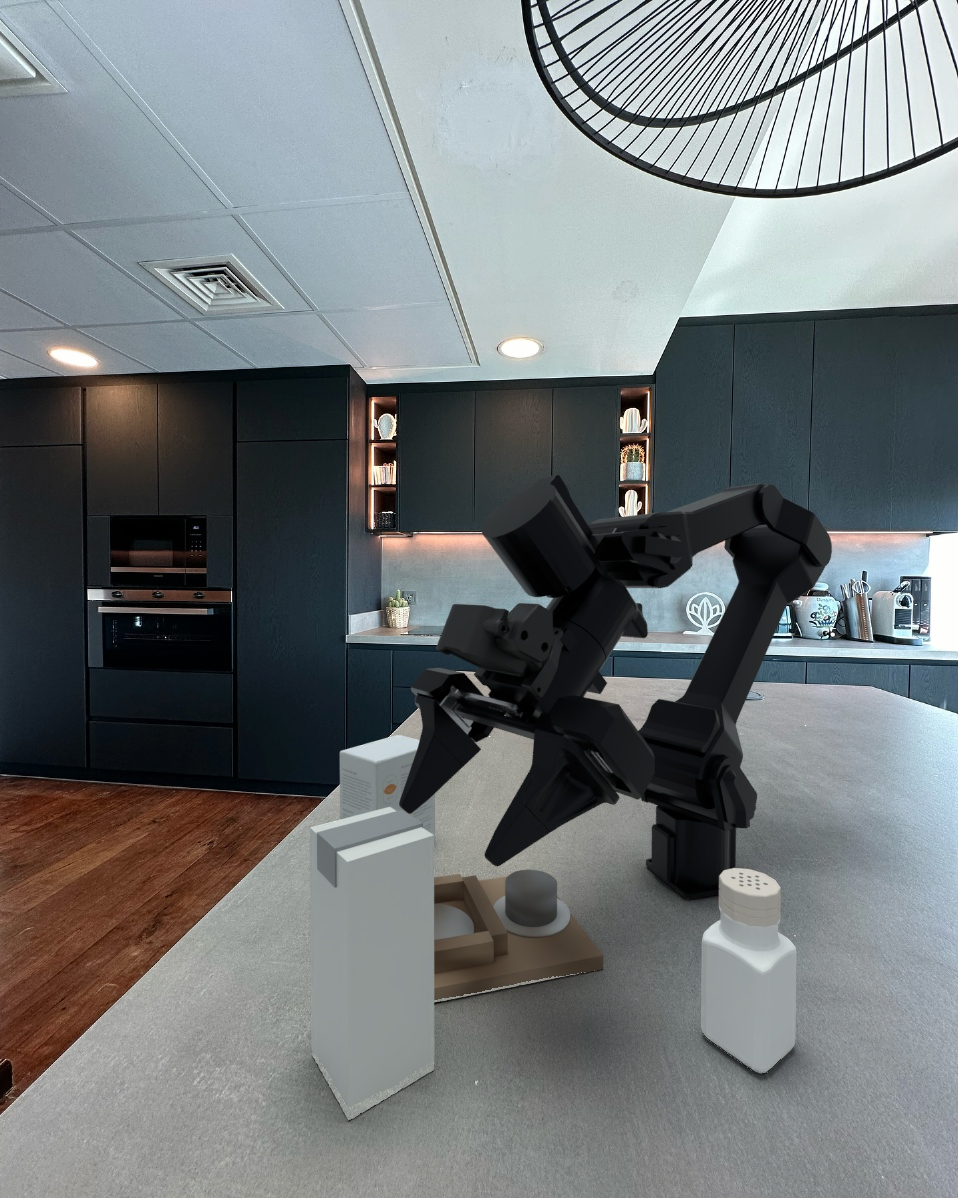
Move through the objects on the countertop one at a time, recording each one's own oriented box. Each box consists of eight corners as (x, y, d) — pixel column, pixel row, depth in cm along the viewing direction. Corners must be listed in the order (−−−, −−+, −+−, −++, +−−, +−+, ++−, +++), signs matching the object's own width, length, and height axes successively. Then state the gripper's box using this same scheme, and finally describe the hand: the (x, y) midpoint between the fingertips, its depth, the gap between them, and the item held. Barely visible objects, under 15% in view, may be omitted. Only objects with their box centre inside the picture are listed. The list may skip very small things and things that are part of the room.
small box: (399, 830, 62) (398, 733, 62) (436, 844, 59) (436, 742, 59) (338, 857, 56) (337, 749, 56) (376, 875, 53) (375, 761, 52)
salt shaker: (763, 1085, 31) (765, 908, 30) (696, 1037, 34) (697, 877, 34) (800, 1049, 33) (802, 885, 33) (733, 1008, 36) (735, 858, 36)
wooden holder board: (538, 883, 51) (538, 844, 51) (603, 969, 40) (603, 919, 40) (354, 910, 47) (354, 868, 47) (367, 1017, 35) (367, 961, 35)
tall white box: (392, 1015, 36) (391, 803, 35) (435, 1070, 32) (435, 831, 31) (309, 1056, 32) (308, 824, 32) (346, 1123, 28) (345, 858, 28)
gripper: (432, 565, 45) (294, 724, 39) (626, 555, 31) (456, 809, 24) (507, 657, 50) (396, 812, 44) (704, 688, 36) (582, 928, 29)
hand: (442, 833), depth 35 cm, fingers open, 9 cm apart
